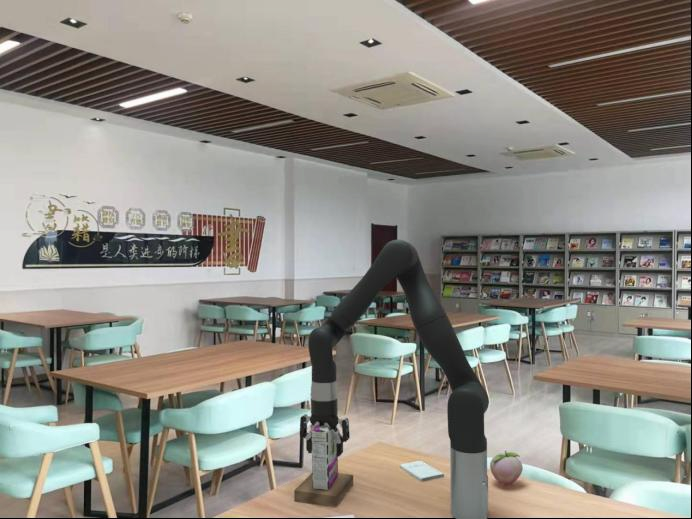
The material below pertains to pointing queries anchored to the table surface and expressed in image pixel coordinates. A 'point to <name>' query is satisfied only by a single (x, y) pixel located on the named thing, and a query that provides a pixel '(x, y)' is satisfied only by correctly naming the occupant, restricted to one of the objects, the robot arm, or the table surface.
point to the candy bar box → (323, 458)
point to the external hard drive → (421, 471)
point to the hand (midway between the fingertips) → (324, 454)
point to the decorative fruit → (506, 467)
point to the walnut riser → (324, 491)
